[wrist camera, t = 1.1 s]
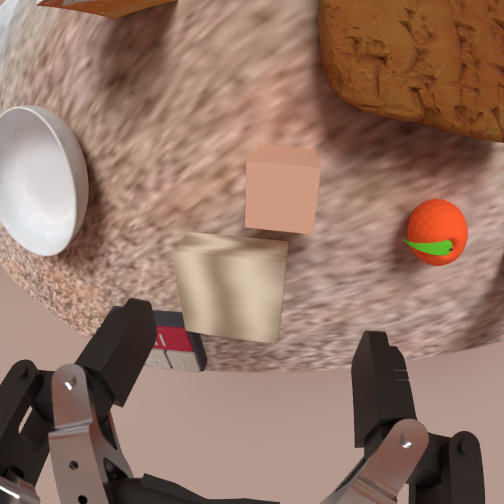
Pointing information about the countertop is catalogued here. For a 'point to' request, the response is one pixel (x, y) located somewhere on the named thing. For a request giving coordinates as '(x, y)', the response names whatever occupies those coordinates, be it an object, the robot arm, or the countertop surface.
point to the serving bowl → (41, 180)
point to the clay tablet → (419, 61)
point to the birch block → (231, 285)
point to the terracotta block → (282, 189)
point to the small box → (103, 6)
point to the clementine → (437, 232)
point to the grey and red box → (175, 344)
